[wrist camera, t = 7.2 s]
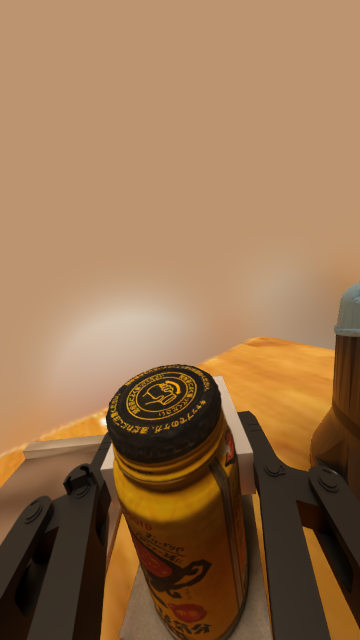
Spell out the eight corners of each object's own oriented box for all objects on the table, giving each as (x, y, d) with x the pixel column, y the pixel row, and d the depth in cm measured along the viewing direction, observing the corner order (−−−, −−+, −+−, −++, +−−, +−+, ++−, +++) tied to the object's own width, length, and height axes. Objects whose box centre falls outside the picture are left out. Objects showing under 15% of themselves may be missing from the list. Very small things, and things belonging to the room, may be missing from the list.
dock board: (86, 648, 12) (78, 630, 12) (-140, 660, 13) (-158, 643, 13) (140, 442, 28) (137, 431, 27) (35, 453, 29) (31, 442, 28)
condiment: (119, 639, 8) (34, 452, 6) (168, 461, 16) (142, 347, 14) (282, 711, 7) (275, 486, 4) (248, 471, 15) (237, 341, 12)
